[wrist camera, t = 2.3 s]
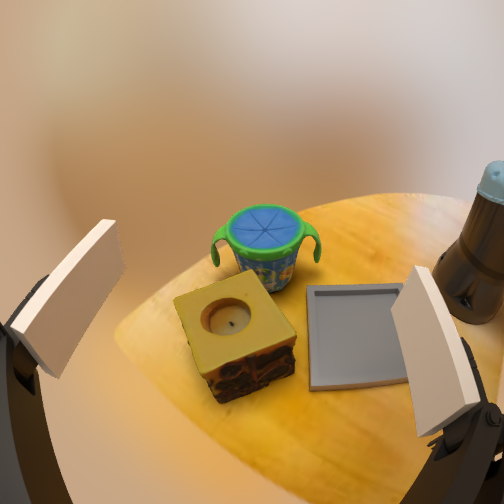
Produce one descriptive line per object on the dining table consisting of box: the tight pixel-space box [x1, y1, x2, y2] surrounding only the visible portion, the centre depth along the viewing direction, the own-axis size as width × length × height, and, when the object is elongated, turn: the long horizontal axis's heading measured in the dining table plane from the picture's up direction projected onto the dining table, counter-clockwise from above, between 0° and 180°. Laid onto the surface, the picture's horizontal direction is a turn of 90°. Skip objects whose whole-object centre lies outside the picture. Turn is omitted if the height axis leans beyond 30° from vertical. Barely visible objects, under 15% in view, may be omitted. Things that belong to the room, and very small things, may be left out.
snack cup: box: [211, 204, 321, 293], centre depth 40 cm, size 16×10×10 cm
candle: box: [173, 269, 297, 403], centre depth 30 cm, size 10×10×10 cm
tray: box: [306, 283, 409, 391], centre depth 33 cm, size 15×15×2 cm
